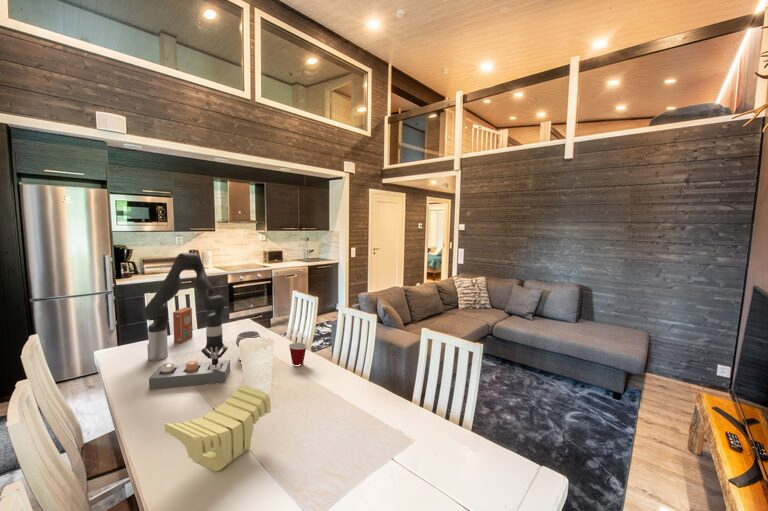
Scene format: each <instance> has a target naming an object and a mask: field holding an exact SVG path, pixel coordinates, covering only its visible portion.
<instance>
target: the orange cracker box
mask: <svg viewBox="0 0 768 511" xmlns="http://www.w3.org/2000/svg"><path fill="white" fill-rule="evenodd" d="M172 320H173V321H172V322H173V343H174V344H183V343H185V342H186V341H188V340H189V339H191V338H193V335H194V334H193V309H192V307H182V308H180V309H177V310H175V311H173V312H172Z"/></svg>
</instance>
